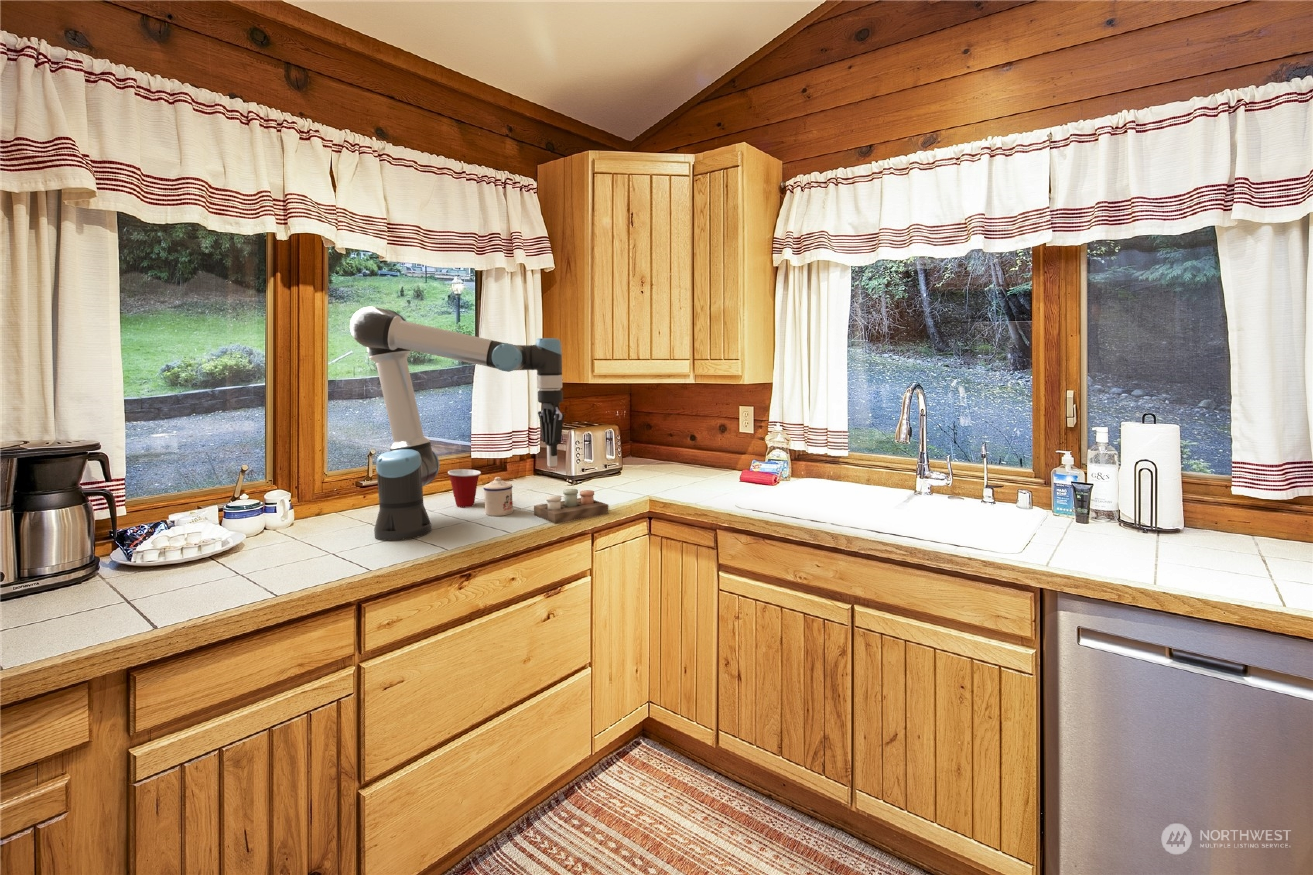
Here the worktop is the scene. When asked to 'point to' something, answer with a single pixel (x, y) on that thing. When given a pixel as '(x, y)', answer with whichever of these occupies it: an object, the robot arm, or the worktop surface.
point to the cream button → (553, 502)
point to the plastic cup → (464, 486)
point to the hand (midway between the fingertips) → (552, 465)
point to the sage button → (570, 497)
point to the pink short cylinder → (587, 497)
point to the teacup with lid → (498, 498)
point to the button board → (571, 511)
